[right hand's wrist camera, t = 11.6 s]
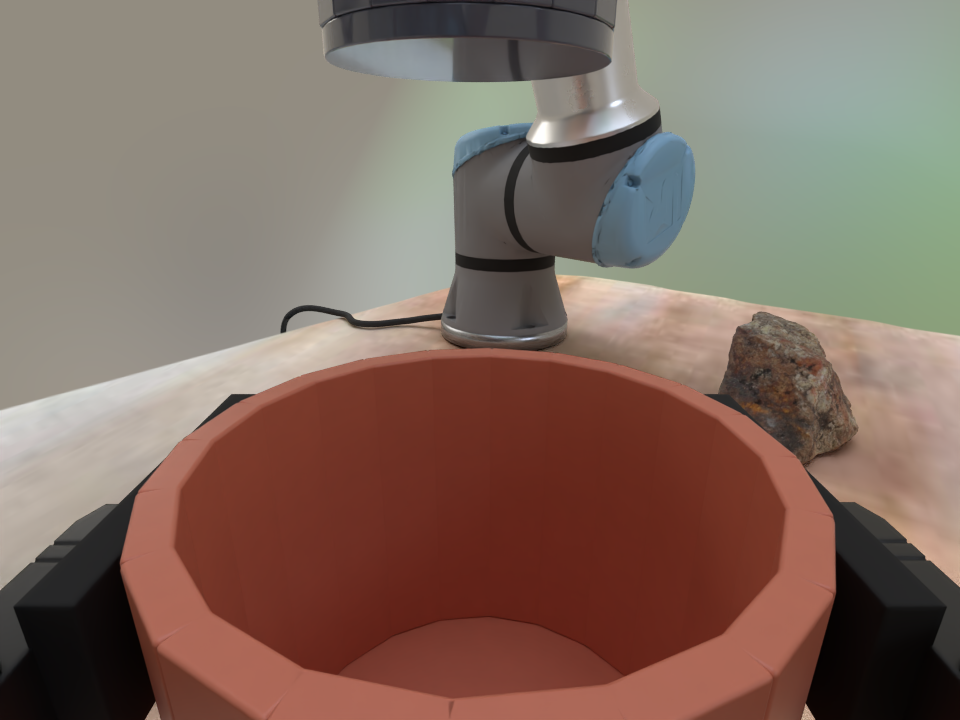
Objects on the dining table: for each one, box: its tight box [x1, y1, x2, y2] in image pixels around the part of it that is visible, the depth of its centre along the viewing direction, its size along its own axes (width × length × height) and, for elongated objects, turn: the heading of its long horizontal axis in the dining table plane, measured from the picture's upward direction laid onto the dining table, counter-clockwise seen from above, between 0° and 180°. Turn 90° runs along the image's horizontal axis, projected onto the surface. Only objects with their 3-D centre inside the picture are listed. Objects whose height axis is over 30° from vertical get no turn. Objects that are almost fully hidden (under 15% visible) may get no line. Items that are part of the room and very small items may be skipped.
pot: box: [120, 348, 836, 720], centre depth 11 cm, size 10×10×9 cm
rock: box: [718, 312, 858, 465], centre depth 44 cm, size 14×9×10 cm
